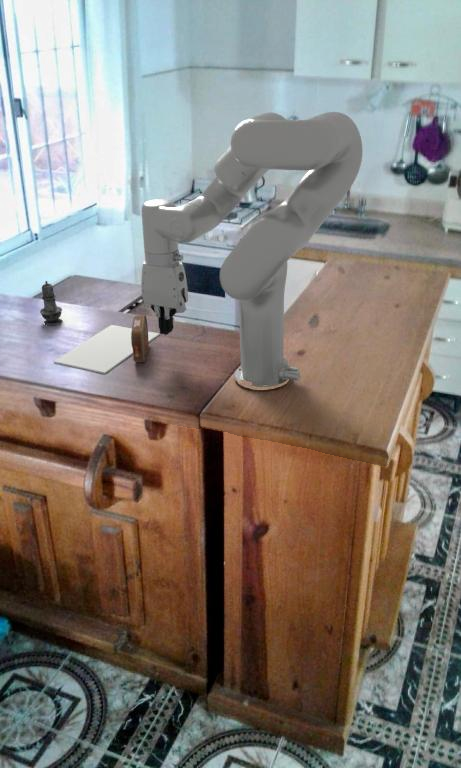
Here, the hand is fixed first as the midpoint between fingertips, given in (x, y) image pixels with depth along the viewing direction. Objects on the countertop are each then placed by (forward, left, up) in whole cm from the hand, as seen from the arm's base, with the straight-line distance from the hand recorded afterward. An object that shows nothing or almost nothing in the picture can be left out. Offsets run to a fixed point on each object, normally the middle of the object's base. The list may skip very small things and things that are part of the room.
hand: (166, 332), depth 166 cm
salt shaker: (+41, -8, -8) cm, 43 cm away
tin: (+8, 0, -7) cm, 11 cm away
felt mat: (+17, 0, -7) cm, 19 cm away
